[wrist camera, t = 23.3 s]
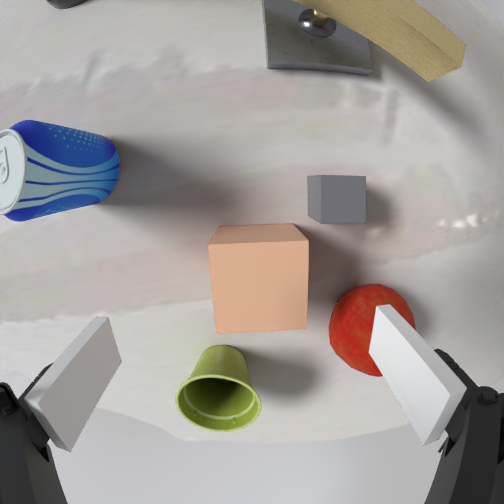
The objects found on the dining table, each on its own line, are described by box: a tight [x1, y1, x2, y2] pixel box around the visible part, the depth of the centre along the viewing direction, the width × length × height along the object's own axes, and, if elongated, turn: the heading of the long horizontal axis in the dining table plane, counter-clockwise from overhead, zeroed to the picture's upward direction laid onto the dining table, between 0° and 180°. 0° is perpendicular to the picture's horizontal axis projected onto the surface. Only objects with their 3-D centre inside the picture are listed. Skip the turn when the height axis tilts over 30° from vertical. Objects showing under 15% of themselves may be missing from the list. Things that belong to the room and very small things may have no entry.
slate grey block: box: [307, 175, 366, 224], centre depth 27 cm, size 4×4×6 cm
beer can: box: [0, 120, 120, 221], centre depth 21 cm, size 8×8×16 cm
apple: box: [329, 284, 415, 377], centre depth 29 cm, size 10×10×10 cm
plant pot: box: [175, 345, 261, 432], centre depth 31 cm, size 9×9×9 cm
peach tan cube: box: [208, 223, 309, 333], centre depth 28 cm, size 8×8×9 cm
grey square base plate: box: [262, 0, 373, 76], centre depth 24 cm, size 12×12×2 cm
